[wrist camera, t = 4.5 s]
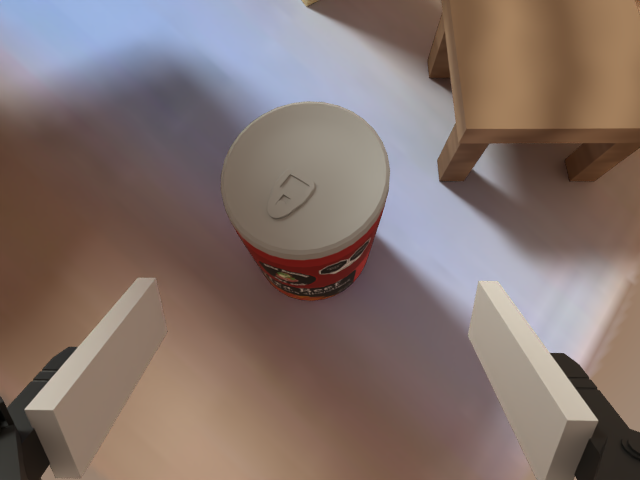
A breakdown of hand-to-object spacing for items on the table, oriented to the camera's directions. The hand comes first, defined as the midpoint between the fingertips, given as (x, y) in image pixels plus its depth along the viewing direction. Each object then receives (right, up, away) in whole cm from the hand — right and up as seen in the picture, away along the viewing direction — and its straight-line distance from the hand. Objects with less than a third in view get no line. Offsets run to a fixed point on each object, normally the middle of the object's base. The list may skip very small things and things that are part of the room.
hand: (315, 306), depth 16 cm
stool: (+15, +12, +15) cm, 25 cm away
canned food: (0, +2, +12) cm, 12 cm away
